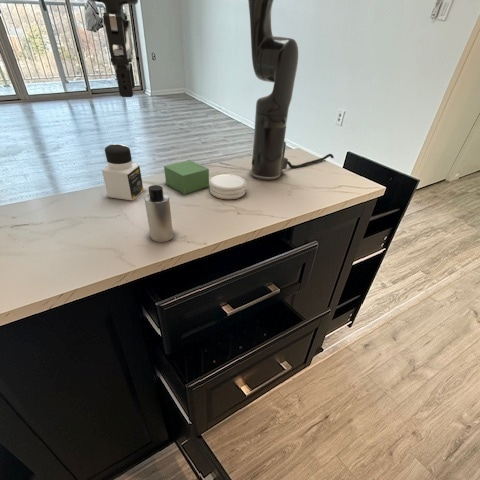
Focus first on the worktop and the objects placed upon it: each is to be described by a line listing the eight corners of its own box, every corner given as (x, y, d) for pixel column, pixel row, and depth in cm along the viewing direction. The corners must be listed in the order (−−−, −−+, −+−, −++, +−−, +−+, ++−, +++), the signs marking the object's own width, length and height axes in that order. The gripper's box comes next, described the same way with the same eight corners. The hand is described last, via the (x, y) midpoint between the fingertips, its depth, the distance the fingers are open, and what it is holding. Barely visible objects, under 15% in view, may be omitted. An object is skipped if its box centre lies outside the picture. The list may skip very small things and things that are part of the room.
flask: (165, 228, 74) (159, 180, 67) (177, 237, 72) (172, 188, 64) (146, 235, 72) (137, 186, 64) (158, 244, 69) (151, 194, 62)
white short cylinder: (225, 203, 86) (225, 190, 83) (203, 191, 91) (202, 178, 88) (252, 194, 91) (253, 181, 88) (229, 183, 96) (229, 171, 93)
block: (190, 177, 98) (189, 159, 94) (209, 186, 93) (208, 168, 90) (165, 184, 93) (163, 166, 90) (184, 194, 89) (182, 175, 85)
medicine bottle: (132, 201, 84) (123, 152, 76) (107, 197, 85) (95, 148, 76) (144, 190, 89) (136, 143, 81) (120, 187, 90) (110, 140, 81)
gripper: (131, -46, 42) (149, 100, 53) (134, -36, 52) (149, 85, 63) (70, -52, 41) (102, 99, 52) (86, -41, 51) (110, 84, 62)
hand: (128, 92), depth 58 cm, fingers open, 8 cm apart
